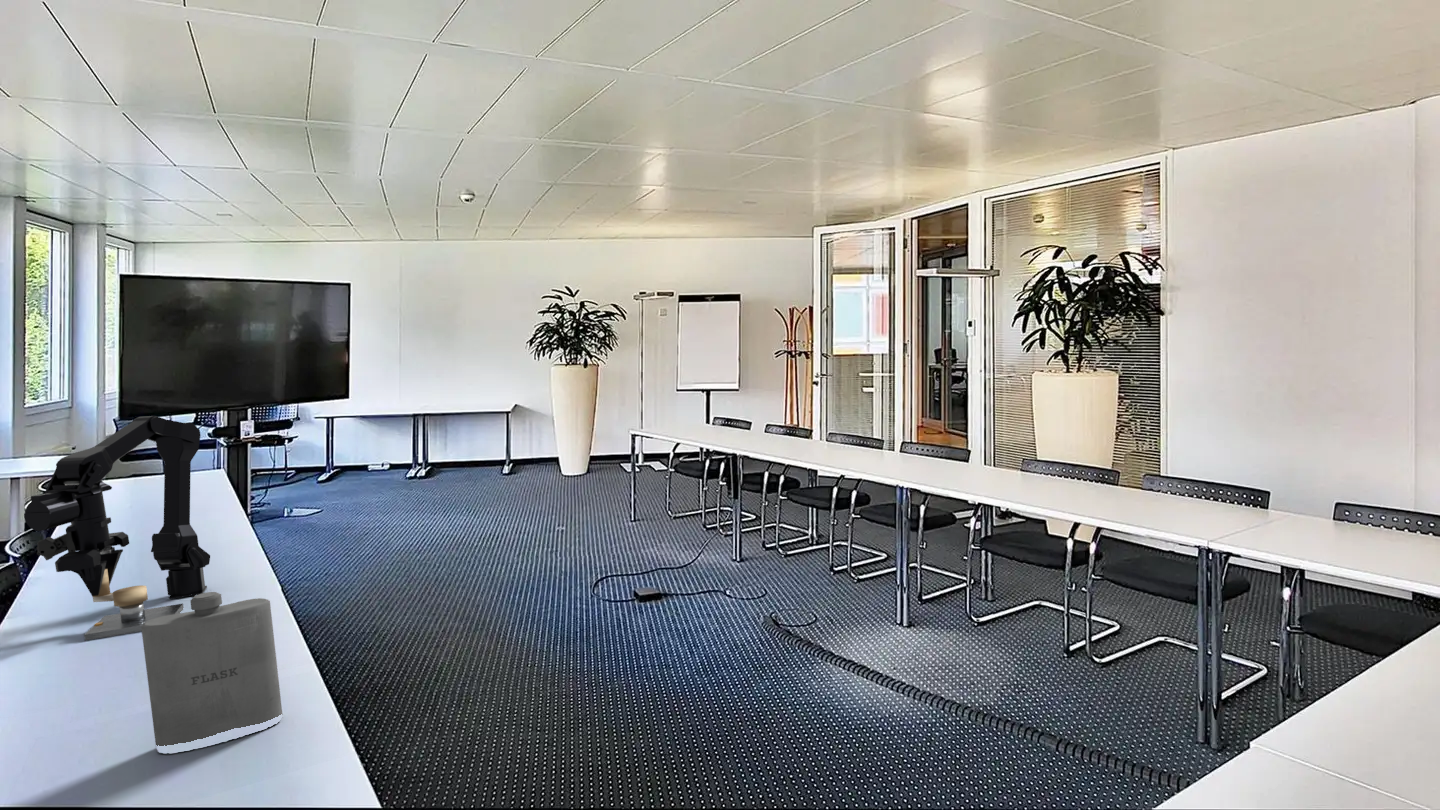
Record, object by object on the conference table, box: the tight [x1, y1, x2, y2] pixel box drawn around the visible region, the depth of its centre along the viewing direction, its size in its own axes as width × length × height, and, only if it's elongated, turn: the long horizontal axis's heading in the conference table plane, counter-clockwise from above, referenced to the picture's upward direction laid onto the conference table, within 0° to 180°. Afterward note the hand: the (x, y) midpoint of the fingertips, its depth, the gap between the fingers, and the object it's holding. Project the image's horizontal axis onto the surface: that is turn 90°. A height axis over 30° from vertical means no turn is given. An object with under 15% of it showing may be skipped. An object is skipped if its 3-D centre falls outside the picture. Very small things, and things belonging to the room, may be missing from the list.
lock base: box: [83, 602, 185, 642], centre depth 166 cm, size 14×13×4 cm
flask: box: [141, 591, 283, 746], centre depth 111 cm, size 15×6×20 cm, turn 122°
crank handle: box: [91, 569, 149, 607], centre depth 165 cm, size 10×6×7 cm, turn 89°
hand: (100, 591), depth 165 cm, fingers open, 4 cm apart
